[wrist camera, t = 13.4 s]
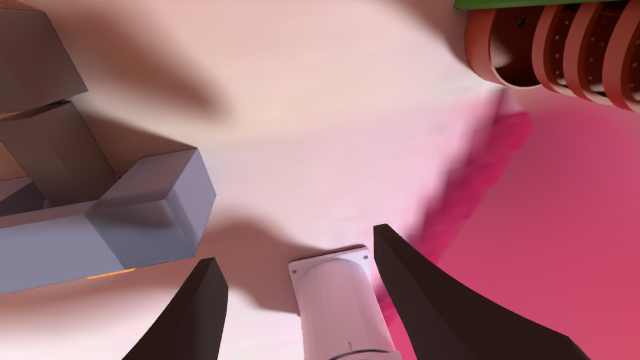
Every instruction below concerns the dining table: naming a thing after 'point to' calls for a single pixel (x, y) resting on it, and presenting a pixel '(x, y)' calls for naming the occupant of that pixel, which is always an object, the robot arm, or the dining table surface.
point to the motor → (558, 47)
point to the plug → (47, 113)
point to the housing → (105, 224)
